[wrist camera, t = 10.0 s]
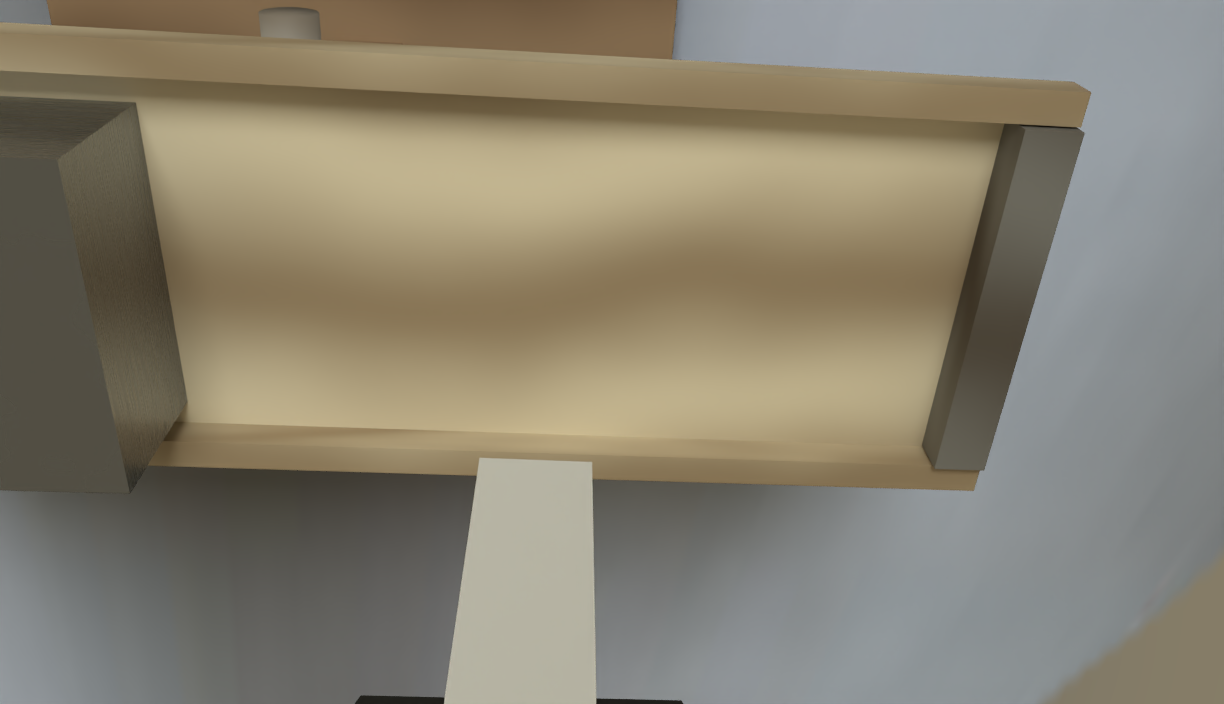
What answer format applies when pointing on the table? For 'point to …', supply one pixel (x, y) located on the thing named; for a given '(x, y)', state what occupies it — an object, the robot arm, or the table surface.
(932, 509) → the table surface
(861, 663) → the table surface
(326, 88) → the seesaw beam
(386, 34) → the seesaw stand
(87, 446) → the iron block
